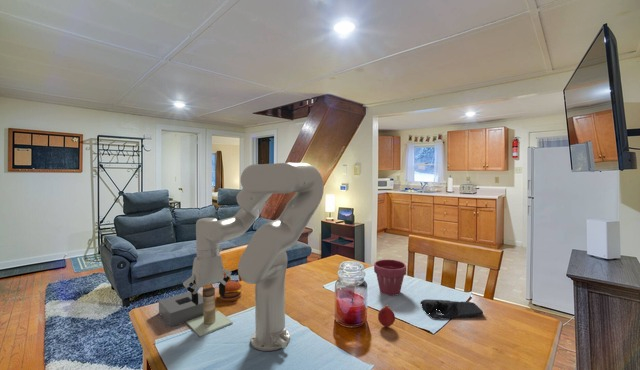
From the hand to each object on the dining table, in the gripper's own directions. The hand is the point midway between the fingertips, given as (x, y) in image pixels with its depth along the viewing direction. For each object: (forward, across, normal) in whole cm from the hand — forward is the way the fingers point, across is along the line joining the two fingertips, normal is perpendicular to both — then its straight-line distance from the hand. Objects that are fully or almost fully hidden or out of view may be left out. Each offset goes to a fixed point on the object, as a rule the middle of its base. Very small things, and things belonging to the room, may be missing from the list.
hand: (209, 299), depth 107 cm
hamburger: (+9, -16, -15) cm, 24 cm away
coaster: (+9, 0, 0) cm, 9 cm away
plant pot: (+9, -71, +30) cm, 78 cm away
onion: (+9, -44, +46) cm, 64 cm away
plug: (+8, 0, 0) cm, 8 cm away
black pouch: (+10, -73, +57) cm, 93 cm away
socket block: (+9, +4, -14) cm, 17 cm away
